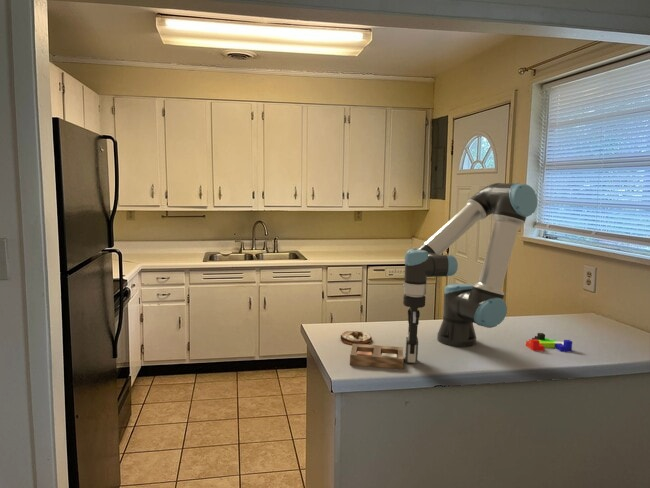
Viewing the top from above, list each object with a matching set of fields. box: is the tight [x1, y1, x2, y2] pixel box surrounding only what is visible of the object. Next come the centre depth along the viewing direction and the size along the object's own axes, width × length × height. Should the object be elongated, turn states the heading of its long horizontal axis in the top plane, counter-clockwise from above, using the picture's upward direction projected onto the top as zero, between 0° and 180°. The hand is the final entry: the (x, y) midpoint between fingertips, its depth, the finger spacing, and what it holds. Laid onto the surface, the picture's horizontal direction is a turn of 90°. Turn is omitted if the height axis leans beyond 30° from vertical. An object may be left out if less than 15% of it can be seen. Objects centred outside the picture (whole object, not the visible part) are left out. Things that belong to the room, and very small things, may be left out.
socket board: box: [349, 344, 404, 370], centre depth 171 cm, size 18×12×4 cm, turn 82°
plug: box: [404, 332, 419, 365], centre depth 171 cm, size 4×4×10 cm
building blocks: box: [525, 332, 573, 353], centre depth 193 cm, size 15×13×4 cm
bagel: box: [339, 330, 373, 346], centre depth 193 cm, size 15×15×4 cm
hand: (411, 359), depth 172 cm, fingers closed on plug, 4 cm apart
